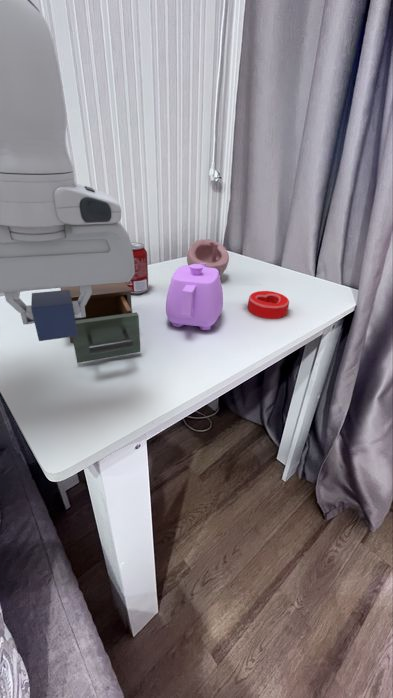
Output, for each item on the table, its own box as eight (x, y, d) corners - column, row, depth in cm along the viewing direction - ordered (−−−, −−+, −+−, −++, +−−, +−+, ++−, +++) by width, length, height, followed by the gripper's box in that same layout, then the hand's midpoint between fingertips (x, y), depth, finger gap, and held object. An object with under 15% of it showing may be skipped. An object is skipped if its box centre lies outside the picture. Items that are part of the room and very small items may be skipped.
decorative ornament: (272, 322, 76) (274, 310, 74) (239, 308, 82) (241, 296, 80) (294, 311, 82) (297, 299, 80) (263, 298, 88) (264, 287, 86)
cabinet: (133, 333, 70) (130, 290, 64) (70, 343, 65) (61, 298, 60) (120, 304, 81) (116, 266, 76) (65, 311, 77) (57, 271, 71)
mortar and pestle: (194, 287, 92) (195, 246, 86) (181, 273, 101) (182, 234, 95) (233, 284, 95) (237, 243, 89) (217, 270, 105) (220, 233, 99)
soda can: (151, 293, 87) (149, 248, 81) (125, 296, 85) (122, 250, 79) (145, 284, 92) (143, 240, 86) (120, 287, 90) (116, 242, 84)
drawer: (147, 366, 58) (145, 327, 54) (80, 379, 55) (72, 338, 50) (125, 320, 73) (123, 286, 68) (71, 327, 69) (64, 292, 65)
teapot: (215, 344, 67) (220, 285, 60) (156, 336, 69) (154, 278, 62) (225, 304, 84) (230, 254, 77) (178, 298, 85) (178, 249, 79)
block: (38, 341, 40) (31, 308, 38) (38, 324, 44) (31, 292, 41) (77, 336, 42) (72, 303, 39) (74, 320, 45) (69, 289, 43)
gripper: (-100, 207, 29) (-46, 343, 36) (135, 205, 36) (139, 320, 43) (-80, 196, 33) (-36, 317, 41) (123, 196, 40) (129, 300, 48)
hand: (55, 318), depth 42 cm, fingers closed on block, 4 cm apart
